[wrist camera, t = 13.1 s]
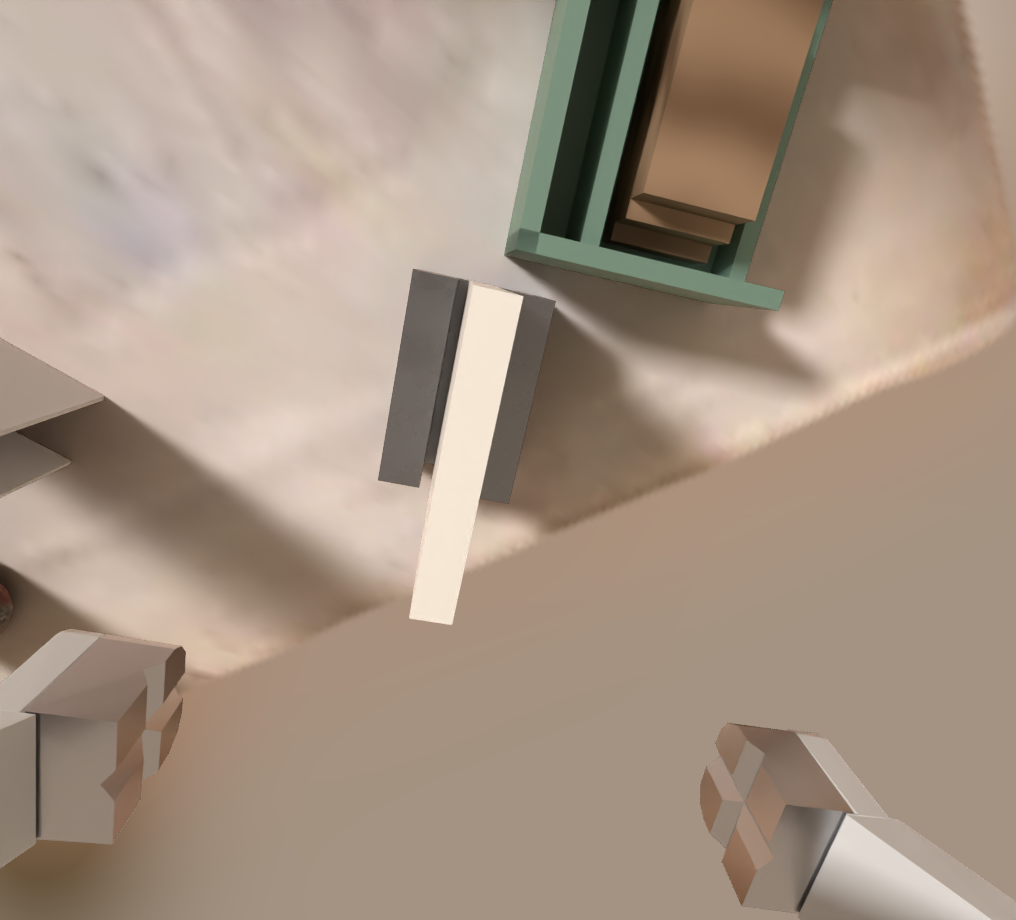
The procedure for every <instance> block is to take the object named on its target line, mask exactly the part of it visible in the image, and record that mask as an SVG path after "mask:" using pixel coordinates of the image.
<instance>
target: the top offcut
mask: <svg viewBox="0 0 1016 920" xmlns="http://www.w3.org/2000/svg"><path fill="white" fill-rule="evenodd" d="M823 2H824V0H681V3H680V7H679V11H678V15H677V19H676V23H675V27H674V31H673V35H672V39H671V43H670V47H669V51H668V54H667V58H666V62H665V66H664V70H663V74H662V78H661V82H660V86H659V90H658V94H657V98H656V102H655V106H654V110H653V113H652V117H651V121H650V125H649V129H648V133H647V137H646V141H645V145H644V149H643V153H642V157H641V161H640V165H639V168H638V172H637V176H636V180H635V184H634V188H633V192H632V196H631V199H635V200H639V201H643V202H647V203H651V204H655V205H659V206H663V207H667V208H670V209H674V210H678V211H682V212H686V213H690V214H694V215H698V216H702V217H706V218H710V219H714V220H718V221H722V222H726V223H730V224H734V225H737V224H742V223H747V222H753V221H755V220H756V217H757V214H758V211H759V207H760V204H761V201H762V198H763V195H764V191H765V188H766V185H767V182H768V179H769V175H770V172H771V169H772V166H773V162H774V159H775V156H776V153H777V150H778V146H779V143H780V140H781V137H782V133H783V130H784V127H785V124H786V121H787V117H788V114H789V111H790V108H791V105H792V101H793V98H794V95H795V92H796V88H797V85H798V82H799V79H800V76H801V72H802V69H803V66H804V63H805V59H806V56H807V53H808V50H809V47H810V43H811V40H812V37H813V34H814V30H815V27H816V24H817V21H818V18H819V14H820V11H821V8H822V5H823Z"/></svg>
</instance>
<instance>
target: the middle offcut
mask: <svg viewBox="0 0 1016 920" xmlns="http://www.w3.org/2000/svg"><path fill="white" fill-rule="evenodd" d="M680 3H681V0H671V1H670V5H669V9H668V13H667V17H666V21H665V25H664V29H663V33H662V37H661V41H660V45H659V49H658V53H657V57H656V61H655V65H654V69H653V73H652V77H651V81H650V85H649V89H648V93H647V97H646V101H645V105H644V109H643V113H642V117H641V121H640V125H639V129H638V133H637V137H636V141H635V145H634V149H633V153H632V157H631V161H630V165H629V169H628V173H627V177H626V181H625V185H624V189H623V193H622V197H621V201H620V205H619V209H618V213H617V217H616V221H615V222H618V223H622V224H626V225H630V226H634V227H638V228H642V229H646V230H650V231H654V232H658V233H662V234H666V235H670V236H675V237H679V238H683V239H687V240H691V241H695V242H699V243H703V244H707V245H711V246H715V245H723V244H729V243H730V240H731V237H732V233H733V230H734V227H735V225H734V224H730V223H726V222H722V221H718V220H714V219H710V218H706V217H702V216H698V215H694V214H690V213H686V212H682V211H678V210H674V209H670V208H667V207H663V206H659V205H655V204H651V203H647V202H643V201H639V200H635V199H631V196H632V192H633V188H634V184H635V180H636V176H637V172H638V168H639V165H640V161H641V157H642V153H643V149H644V145H645V141H646V137H647V133H648V129H649V125H650V121H651V117H652V113H653V110H654V106H655V102H656V98H657V94H658V90H659V86H660V82H661V78H662V74H663V70H664V66H665V62H666V58H667V54H668V51H669V47H670V43H671V39H672V35H673V31H674V27H675V23H676V19H677V15H678V11H679V7H680Z"/></svg>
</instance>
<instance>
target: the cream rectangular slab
mask: <svg viewBox="0 0 1016 920" xmlns="http://www.w3.org/2000/svg"><path fill="white" fill-rule="evenodd" d="M522 300H523V296H521V295H518V294H515V293H513V292H510V291H507V290H504V289H502V288H499V287H496V286H492V285H488V284H484V283H479V282H475V281H470V280H469V285H468V290H467V295H466V301H465V306H464V311H463V316H462V321H461V327H460V332H459V337H458V342H457V348H456V353H455V358H454V363H453V368H452V374H451V379H450V384H449V389H448V395H447V400H446V405H445V410H444V415H443V421H442V426H441V431H440V436H439V441H438V447H437V452H436V457H435V462H434V468H433V474H432V480H431V486H430V493H429V499H428V505H427V511H426V517H425V523H424V529H423V535H422V541H421V548H420V554H419V560H418V566H417V572H416V578H415V584H414V590H413V596H412V602H411V609H410V615H409V619H416V620H423V621H429V622H436V623H443V624H449V625H452V623H453V618H454V613H455V609H456V603H457V600H458V595H459V590H460V586H461V581H462V577H463V572H464V567H465V563H466V558H467V554H468V549H469V544H470V540H471V535H472V531H473V526H474V521H475V517H476V512H477V508H478V503H479V498H480V494H481V489H482V485H483V480H484V475H485V471H486V466H487V461H488V457H489V452H490V448H491V443H492V438H493V434H494V429H495V425H496V420H497V415H498V411H499V406H500V402H501V397H502V392H503V388H504V383H505V379H506V374H507V369H508V365H509V360H510V356H511V351H512V346H513V342H514V337H515V333H516V328H517V323H518V319H519V314H520V310H521V305H522Z"/></svg>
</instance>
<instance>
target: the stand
mask: <svg viewBox="0 0 1016 920" xmlns="http://www.w3.org/2000/svg"><path fill="white" fill-rule="evenodd" d="M468 285H469V281H468V280H464V279H459V278H455V277H451V276H446V275H442V274H437V273H433V272H428V271H424V270H419V269H413V272H412V279H411V285H410V291H409V297H408V303H407V309H406V315H405V321H404V327H403V333H402V339H401V345H400V351H399V357H398V363H397V369H396V375H395V381H394V387H393V393H392V399H391V405H390V411H389V417H388V423H387V429H386V435H385V441H384V447H383V453H382V459H381V465H380V471H379V477H378V480H379V481H385V482H390V483H396V484H401V485H407V486H413V487H418V488H419V485H420V481H421V476H422V471H423V467H424V462H425V463H430V464H434V462H435V457H436V452H437V447H438V441H439V436H440V431H441V426H442V421H443V415H444V410H445V405H446V400H447V395H448V389H449V384H450V379H451V374H452V368H453V363H454V358H455V353H456V348H457V342H458V337H459V332H460V327H461V321H462V316H463V311H464V306H465V301H466V295H467V290H468ZM502 289H504V288H502ZM504 290H507V291H510V292H513V293H515V294H518V295H521V296H523V300H522V305H521V310H520V314H519V319H518V323H517V328H516V333H515V337H514V342H513V346H512V351H511V356H510V360H509V365H508V369H507V374H506V379H505V383H504V388H503V392H502V397H501V402H500V406H499V411H498V415H497V420H496V425H495V429H494V434H493V438H492V443H491V448H490V452H489V457H488V461H487V466H486V471H485V475H484V480H483V485H482V489H481V494H480V498H479V499H485V500H490V501H496V502H501V503H507V504H509V500H510V496H511V491H512V487H513V483H514V479H515V474H516V470H517V466H518V461H519V457H520V453H521V448H522V444H523V440H524V436H525V431H526V427H527V423H528V418H529V414H530V410H531V405H532V401H533V397H534V393H535V388H536V384H537V380H538V375H539V371H540V367H541V362H542V358H543V354H544V350H545V345H546V341H547V337H548V332H549V328H550V324H551V319H552V315H553V311H554V306H555V302H556V301H553V300H550V299H546V298H543V297H539V296H534V295H530V294H526V293H521V292H517V291H512V290H508V289H504Z"/></svg>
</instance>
